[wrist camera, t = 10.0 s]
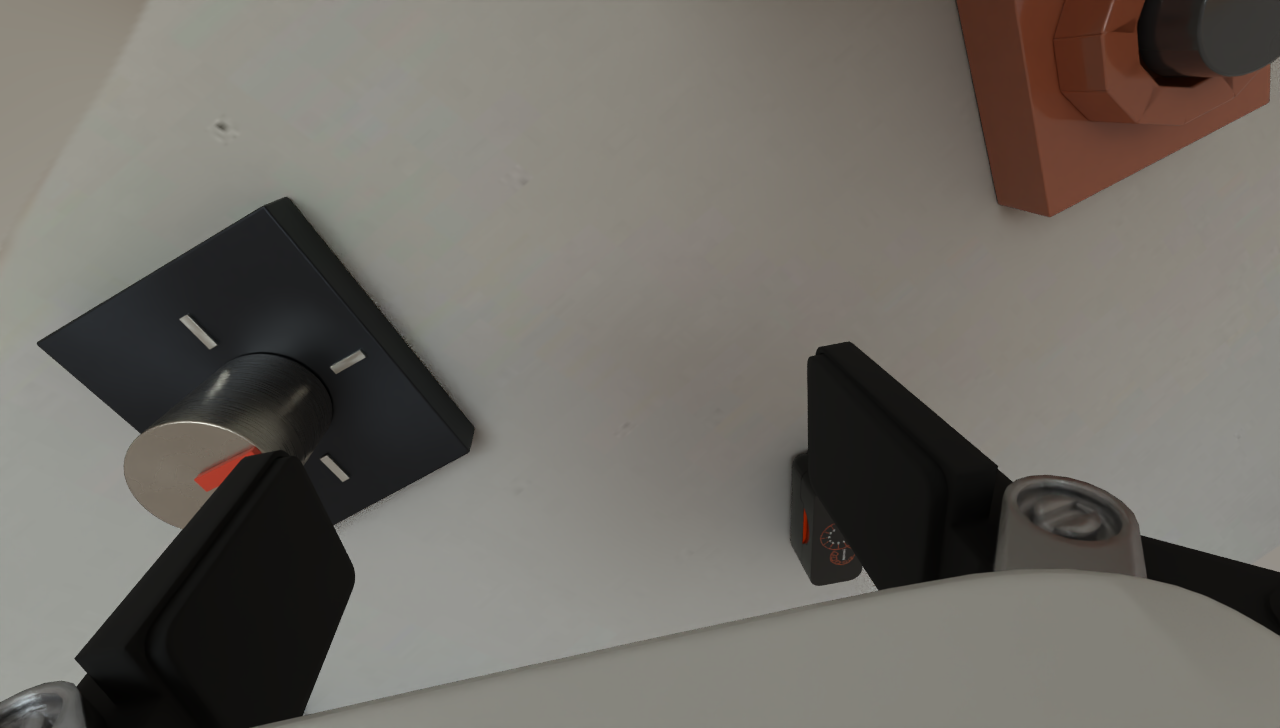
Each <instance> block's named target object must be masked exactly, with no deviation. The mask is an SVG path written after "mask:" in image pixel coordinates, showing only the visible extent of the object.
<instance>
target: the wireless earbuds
mask: <svg viewBox="0 0 1280 728" xmlns="http://www.w3.org/2000/svg"><path fill="white" fill-rule="evenodd" d="M790 541H791V545H792V547H793V549H794V551H795V553H796V555H797V556H798V558H799V560H800V562H801V564H802V566H803V568H804V570H805V572H806V573H807V575H808V577H809V579H810V581H811V583H812V584H814V585H817V586H822V585H827V584H833V583H838V582H843V581H849V580H852V579H854V578H856V577H857V576H859V574H860V573H861V571H862V564H861V563H860V561H859V560H858V558H857V557H856V555H855V554H854V552H853V550H852V549H851V547H850V546H849V544H848V543H847V541H846V540H845V538H844V537H843V535H842V534H841V532H840V531H839V529H838V527H837V526H836V524H835V523H834V521H833V520H832V518H831V517H830V515H829V514H828V512H827V511H826V509H825V508H824V506H823V504H822V503H821V501H820V500H819V498H818V497H817V495H816V494H815V492H814V490H813V488H812V486H811V483H810V479H809V473H808V453H805V454H801V455H798V456H797V457H796V458H795V459H794V461H793V466H792V501H791V539H790Z"/></svg>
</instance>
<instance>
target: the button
mask: <svg viewBox="0 0 1280 728" xmlns="http://www.w3.org/2000/svg"><path fill="white" fill-rule="evenodd" d="M1137 32H1138V45H1139V53H1140V56H1141V58H1142V60H1143V62H1144V63H1145V65H1146V66H1147V67H1148V68H1149V69H1150V70H1151V71H1152V72H1154V73H1156V74H1157V75H1160V76H1162V77H1167V78H1196V77H1237V76H1242V75H1246V74H1249V73H1252V72H1255V71H1257V70H1259V69H1261V68H1263V67H1265V66H1267V65H1268V64H1270V63H1272V62H1273V61H1274V60H1276V59H1277V58H1278V57H1280V0H1145V3H1144V6H1143V9H1142V11H1141V14H1140V17H1139V21H1138V28H1137Z"/></svg>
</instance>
